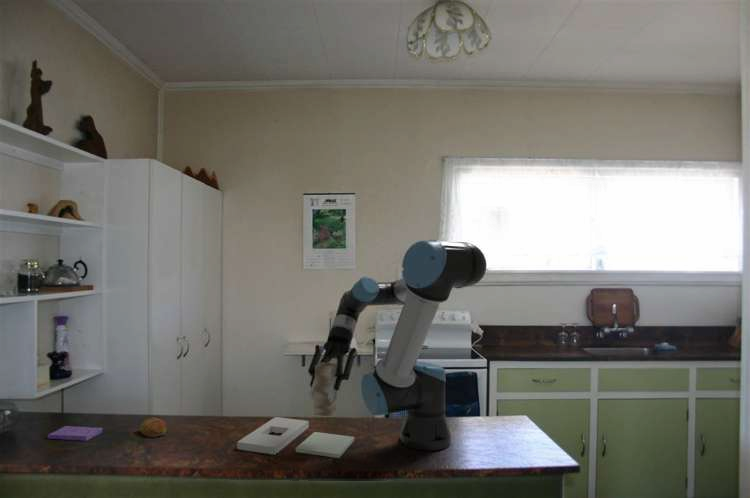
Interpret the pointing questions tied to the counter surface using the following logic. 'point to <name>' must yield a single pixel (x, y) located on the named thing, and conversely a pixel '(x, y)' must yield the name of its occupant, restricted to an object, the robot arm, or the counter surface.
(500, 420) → the counter surface
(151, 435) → the pastry
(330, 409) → the peg
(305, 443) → the tile
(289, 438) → the plate with hole
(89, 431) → the sponges
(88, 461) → the counter surface
